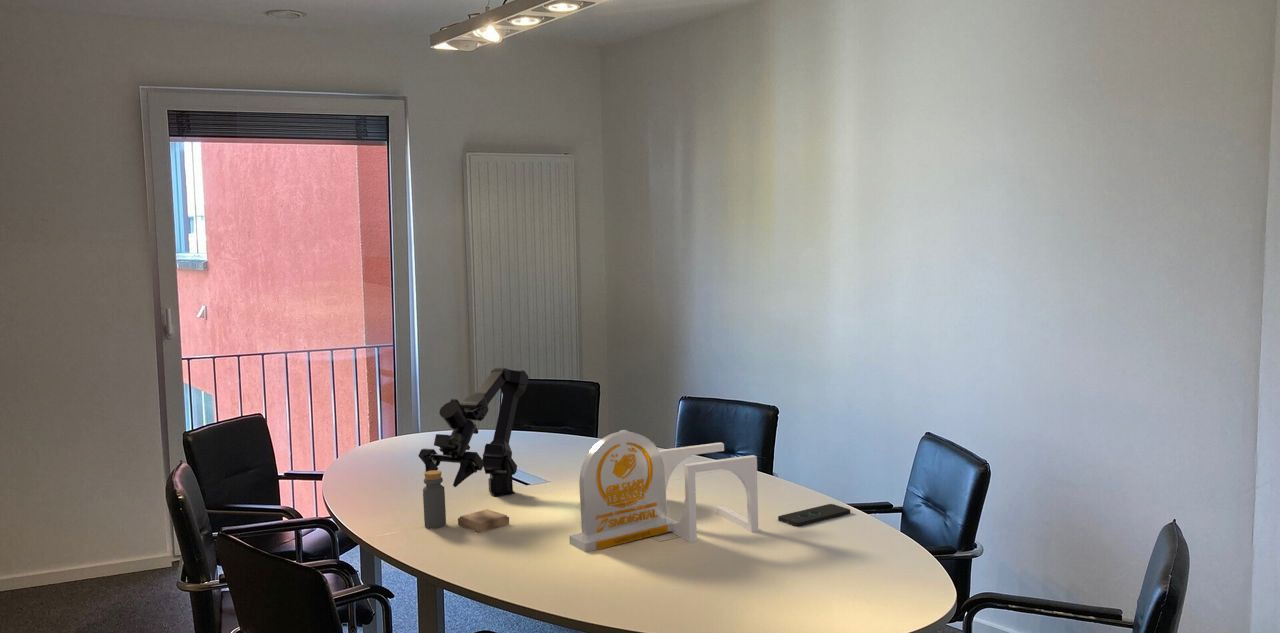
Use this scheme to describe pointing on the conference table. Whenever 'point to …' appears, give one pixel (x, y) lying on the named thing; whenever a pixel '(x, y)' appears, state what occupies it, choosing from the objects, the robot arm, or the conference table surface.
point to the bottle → (434, 500)
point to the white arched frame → (738, 465)
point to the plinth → (483, 520)
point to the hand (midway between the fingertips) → (440, 485)
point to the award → (621, 493)
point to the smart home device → (813, 515)
